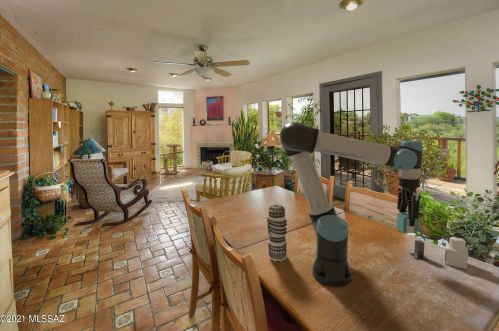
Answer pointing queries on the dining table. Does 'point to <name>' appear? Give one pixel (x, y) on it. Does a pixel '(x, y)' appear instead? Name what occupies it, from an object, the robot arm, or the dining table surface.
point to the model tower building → (277, 233)
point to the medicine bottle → (456, 252)
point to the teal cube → (405, 223)
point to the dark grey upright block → (419, 250)
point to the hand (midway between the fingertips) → (406, 229)
